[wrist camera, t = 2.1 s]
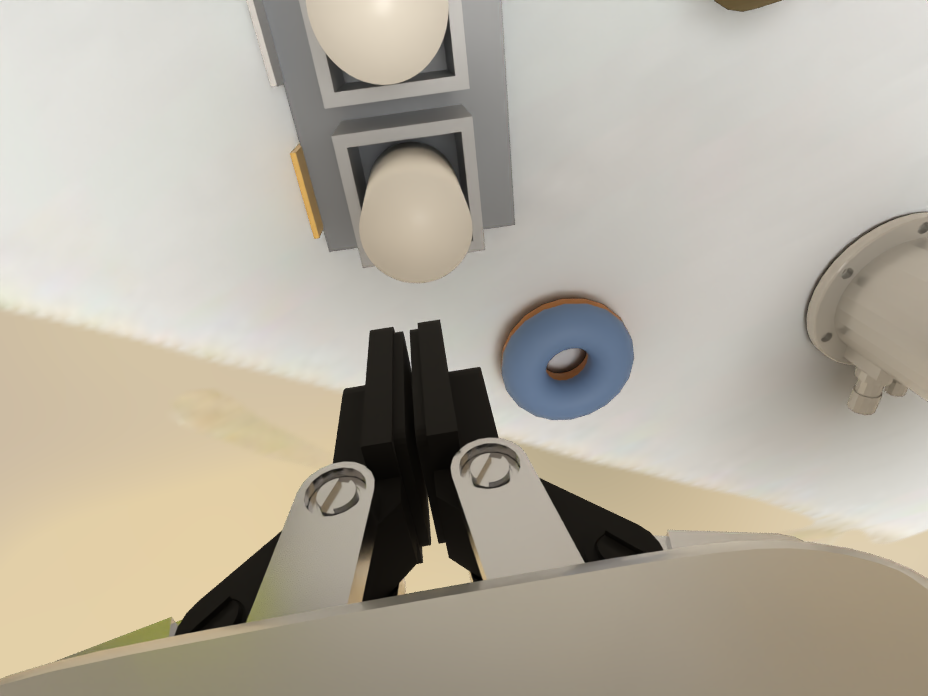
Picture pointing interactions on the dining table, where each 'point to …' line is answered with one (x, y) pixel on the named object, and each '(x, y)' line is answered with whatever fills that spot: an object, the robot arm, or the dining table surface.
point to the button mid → (379, 35)
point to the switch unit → (393, 116)
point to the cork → (744, 4)
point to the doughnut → (561, 331)
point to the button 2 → (414, 214)
